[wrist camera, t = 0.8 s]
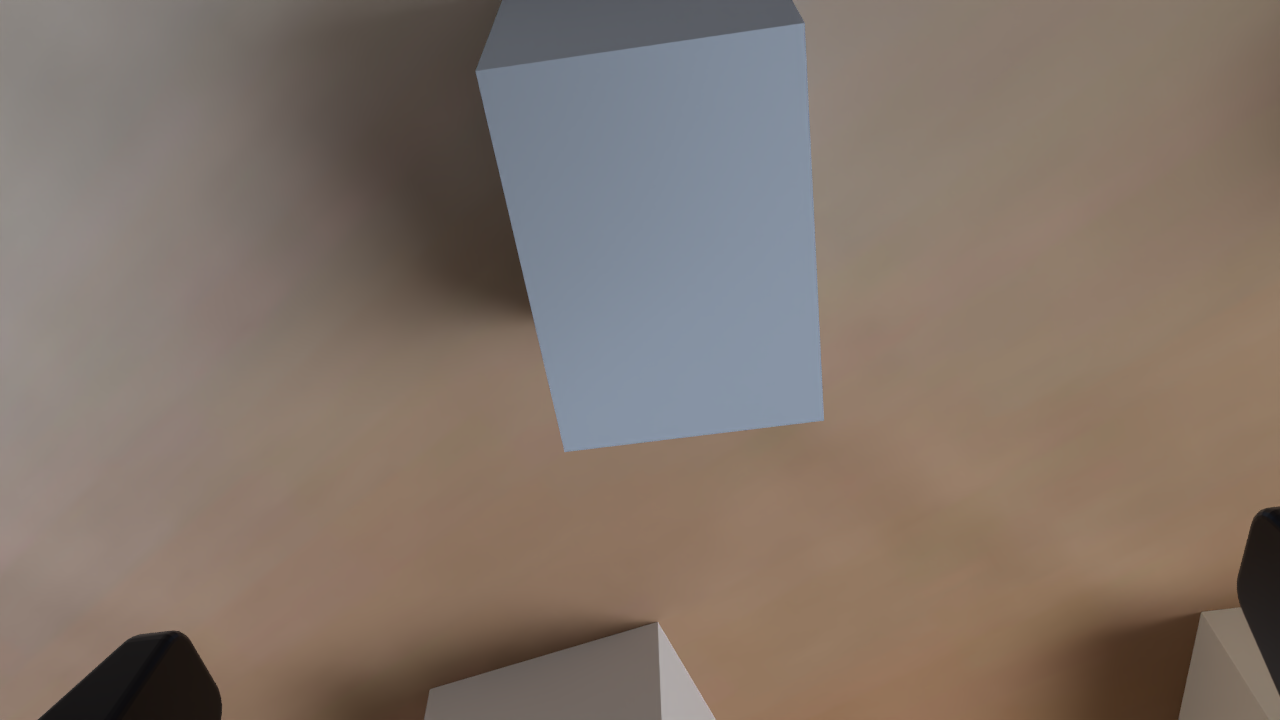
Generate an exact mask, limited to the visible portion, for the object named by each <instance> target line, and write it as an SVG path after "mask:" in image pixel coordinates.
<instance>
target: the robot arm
mask: <svg viewBox="0 0 1280 720" xmlns="http://www.w3.org/2000/svg"><path fill="white" fill-rule="evenodd" d="M1237 593H1238V599H1239V603H1240V606H1241V609H1242V611H1243V614H1244V616H1245V618H1246V621H1247V623H1248V625H1249V628H1250V630H1251V632H1252V634H1253V637H1254V639H1255V641H1256V643H1257V646H1258V648H1259V650H1260V653H1261V655H1262V657H1263V659H1264V662H1265V664H1266V666H1267V669H1268V671H1269V673H1270V675H1271V678H1272V680H1273V682H1274V685H1275V687H1276V689H1277V691H1278V694H1279V696H1280V507H1271V508H1265V509H1263V510H1260V511H1259V512H1258V513H1257V514H1256V516H1255V517H1254V518H1253V521H1252V524H1251V527H1250V531H1249V535H1248V539H1247V543H1246V547H1245V550H1244V554H1243V558H1242V562H1241V566H1240V570H1239V573H1238V578H1237ZM221 715H222V703H221V696H220V693H219V689H218V687H217V685H216V683H215V682H214V680H213V678H212V676H211V675H210V673H209V671H208V670H207V668H206V666H205V665H204V663H203V661H202V659H201V658H200V656H199V654H198V653H197V651H196V649H195V647H194V646H193V644H192V642H191V641H190V639H189V638H188V637H187V636H186V635H184V634H183V633H181V632H180V631H165V632H157V633H148V634H140V635H136V636H134V637H132V638H130V639H128V640H127V641H126V642H124V643H123V644H122V645H121V646H120V647H118V648H117V649H116V650H115V651H114V652H113V653H112V654H111V655H109V656H108V657H107V658H106V659H105V660H104V661H103V662H102V663H101V664H99V665H98V666H97V667H96V668H95V669H94V670H93V671H92V672H91V673H89V674H88V675H87V676H86V677H85V678H84V679H83V680H82V681H80V682H79V683H78V684H77V685H76V686H75V687H74V688H73V689H72V690H70V691H69V692H68V693H67V694H66V695H65V696H64V697H63V698H61V699H60V700H59V701H58V702H57V703H56V704H55V705H54V706H53V707H51V708H50V709H49V710H48V711H47V712H46V713H45V714H44V715H42V716H41V717H40V718H39V719H38V720H221Z"/></svg>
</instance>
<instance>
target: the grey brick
mask: <svg viewBox="0 0 1280 720" xmlns="http://www.w3.org/2000/svg"><path fill="white" fill-rule="evenodd" d="M424 720H716V719H715V718H714V716H713V714H712V712H711V711H710V709H709V707H708V706H707V704H706V702H705V701H704V699H703V697H702V696H701V694H700V692H699V691H698V689H697V687H696V685H695V684H694V682H693V680H692V679H691V677H690V675H689V674H688V672H687V670H686V669H685V667H684V665H683V664H682V662H681V660H680V658H679V657H678V655H677V653H676V652H675V650H674V648H673V647H672V645H671V643H670V642H669V640H668V638H667V637H666V635H665V633H664V631H663V630H662V628H661V626H660V625H659V623H658V622H656V623H652V624H649V625H645V626H642V627H639V628H635V629H632V630H628V631H625V632H622V633H618V634H615V635H612V636H608V637H605V638H601V639H598V640H595V641H591V642H588V643H584V644H581V645H578V646H574V647H571V648H568V649H564V650H561V651H557V652H554V653H551V654H547V655H544V656H540V657H537V658H534V659H530V660H527V661H524V662H520V663H517V664H513V665H510V666H507V667H503V668H500V669H496V670H493V671H490V672H486V673H483V674H480V675H476V676H473V677H469V678H466V679H463V680H459V681H456V682H452V683H449V684H446V685H442V686H439V687H436V688H432V689H430V691H429V696H428V702H427V707H426V712H425V717H424Z"/></svg>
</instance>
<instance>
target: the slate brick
mask: <svg viewBox="0 0 1280 720" xmlns="http://www.w3.org/2000/svg"><path fill="white" fill-rule="evenodd" d="M476 76H477V80H478V84H479V89H480V93H481V97H482V101H483V106H484V110H485V114H486V118H487V123H488V127H489V131H490V135H491V140H492V144H493V148H494V152H495V157H496V161H497V165H498V170H499V174H500V178H501V182H502V187H503V191H504V195H505V199H506V204H507V208H508V212H509V216H510V221H511V225H512V229H513V234H514V238H515V242H516V246H517V251H518V255H519V259H520V263H521V268H522V272H523V276H524V280H525V285H526V289H527V293H528V298H529V302H530V306H531V310H532V315H533V319H534V323H535V327H536V332H537V336H538V340H539V344H540V349H541V353H542V357H543V361H544V366H545V370H546V374H547V379H548V383H549V387H550V391H551V396H552V400H553V404H554V408H555V413H556V417H557V421H558V425H559V430H560V434H561V438H562V443H563V447H564V451H565V452H568V451H577V450H585V449H593V448H601V447H610V446H618V445H626V444H634V443H643V442H651V441H659V440H667V439H675V438H684V437H692V436H700V435H708V434H717V433H725V432H733V431H741V430H750V429H758V428H766V427H774V426H782V425H791V424H799V423H807V422H815V421H824V412H823V392H822V371H821V351H820V330H819V310H818V289H817V268H816V248H815V227H814V207H813V186H812V166H811V145H810V124H809V104H808V83H807V63H806V42H805V23H804V21H803V19H802V17H801V16H800V14H799V12H798V10H797V8H796V7H795V5H794V3H793V1H792V0H502V2H501V5H500V7H499V10H498V13H497V15H496V18H495V21H494V23H493V26H492V29H491V31H490V34H489V37H488V39H487V42H486V44H485V47H484V50H483V52H482V55H481V58H480V60H479V63H478V66H477V68H476Z"/></svg>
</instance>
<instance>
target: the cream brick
mask: <svg viewBox="0 0 1280 720" xmlns="http://www.w3.org/2000/svg"><path fill="white" fill-rule="evenodd" d="M1178 720H1280V696H1279V694H1278V691H1277V689H1276V687H1275V685H1274V682H1273V680H1272V678H1271V675H1270V673H1269V671H1268V669H1267V666H1266V664H1265V662H1264V659H1263V657H1262V655H1261V653H1260V650H1259V648H1258V646H1257V643H1256V641H1255V639H1254V637H1253V634H1252V632H1251V630H1250V628H1249V625H1248V623H1247V621H1246V618H1245V616H1244V614H1243V611H1242V609H1241V607H1238V608H1230V609H1221V610H1213V611H1205V612H1201V616H1200V620H1199V625H1198V630H1197V634H1196V639H1195V644H1194V648H1193V653H1192V658H1191V662H1190V667H1189V672H1188V676H1187V681H1186V686H1185V691H1184V695H1183V700H1182V705H1181V709H1180V714H1179V719H1178Z"/></svg>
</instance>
